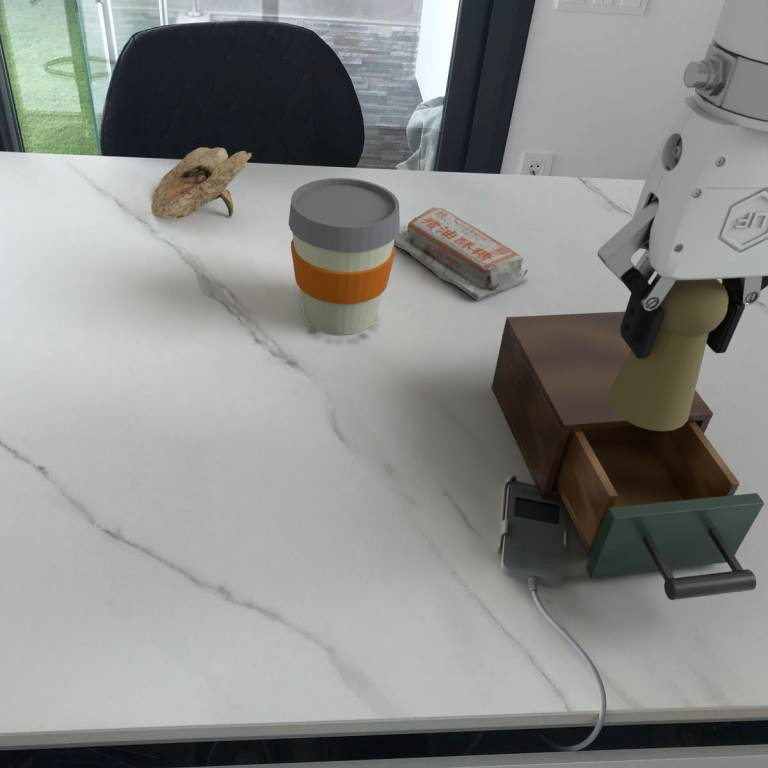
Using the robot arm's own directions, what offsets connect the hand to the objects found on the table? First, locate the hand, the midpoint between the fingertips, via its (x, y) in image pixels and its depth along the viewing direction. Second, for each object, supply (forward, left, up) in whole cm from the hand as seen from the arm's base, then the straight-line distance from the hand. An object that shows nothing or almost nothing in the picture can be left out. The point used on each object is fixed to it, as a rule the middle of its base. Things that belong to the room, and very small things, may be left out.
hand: (672, 342), depth 55 cm
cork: (0, 0, -6) cm, 6 cm away
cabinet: (+15, -5, -23) cm, 28 cm away
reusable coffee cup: (+39, +17, -23) cm, 48 cm away
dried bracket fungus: (+68, +34, -23) cm, 79 cm away
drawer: (+1, -5, -22) cm, 23 cm away
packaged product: (+50, -1, -23) cm, 55 cm away
